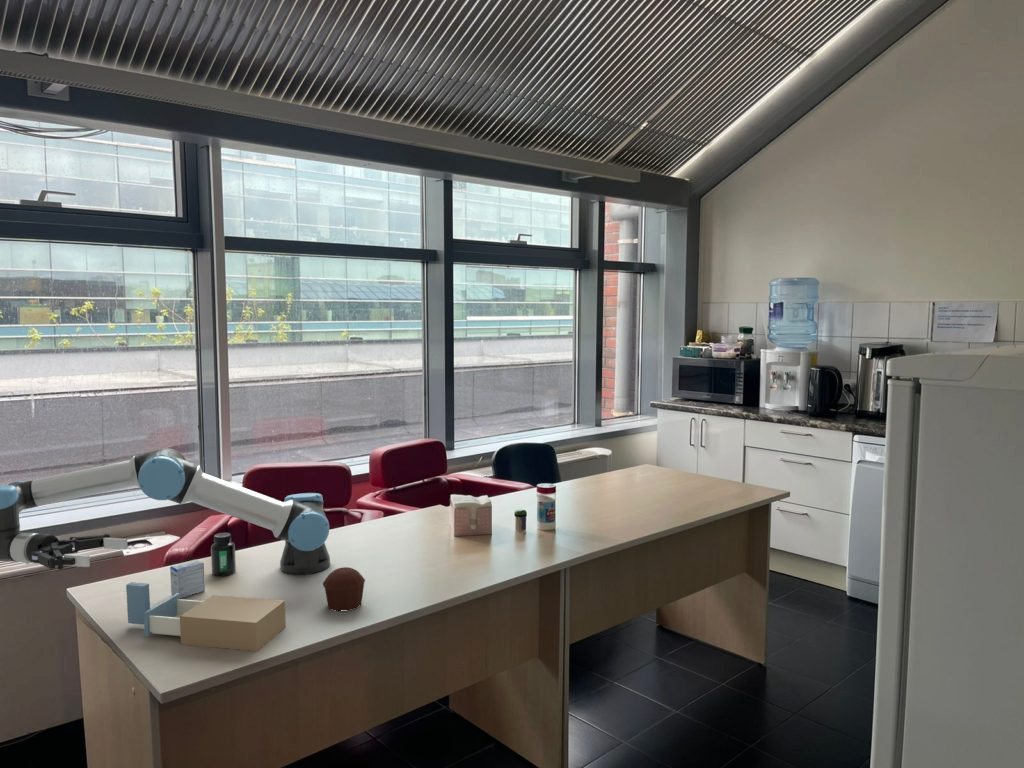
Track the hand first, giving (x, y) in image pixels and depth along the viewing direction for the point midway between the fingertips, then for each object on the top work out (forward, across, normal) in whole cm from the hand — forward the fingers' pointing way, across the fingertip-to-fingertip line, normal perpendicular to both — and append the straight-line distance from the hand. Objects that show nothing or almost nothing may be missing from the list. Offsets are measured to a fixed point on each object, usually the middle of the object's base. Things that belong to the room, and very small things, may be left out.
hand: (108, 552), depth 194 cm
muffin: (+53, -24, -20) cm, 61 cm away
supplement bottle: (+6, -40, -20) cm, 45 cm away
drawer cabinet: (+34, 0, -19) cm, 39 cm away
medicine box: (+6, -23, -20) cm, 31 cm away
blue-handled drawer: (+20, 0, -18) cm, 27 cm away
